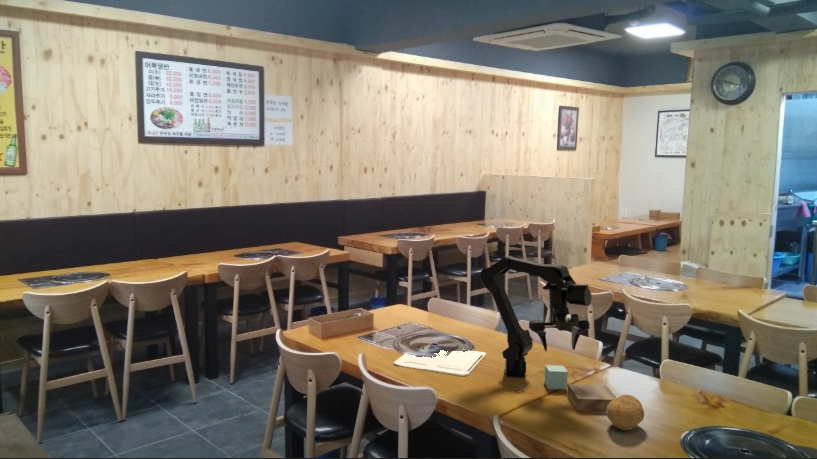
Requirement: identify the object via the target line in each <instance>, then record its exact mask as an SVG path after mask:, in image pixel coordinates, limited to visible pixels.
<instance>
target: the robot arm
mask: <svg viewBox="0 0 817 459" xmlns="http://www.w3.org/2000/svg"><path fill="white" fill-rule="evenodd" d="M510 270H513V271H517V272H520V273H524V274H525V273H526V274H528V275H533V276H537V277H539V278H540V279H542V280H543V281H545V282H547V283H546V284H545V285H544V286H543V287H542V290H545V291H546V290H548V297H549V298H548V299H549V301H548V302H549V304H548V309H549V317H548V319H549V320H548V321H545V322H544V320H542V319H531V320H529V322H528V328H529V329H527V328H526V329H525V330H524V329H523V327H522V326H521V325H520V323H519V320H518V318H517V315H516V312H515V311H514V308H513V306H512V303H511V301H510V299H509V297H508V294H507V291H506V289H505V281H506V280H505V277H504V276H505V275H506V274H507V273H508V272H509V271H510ZM479 279H480V282H481V283H482V285H483V286H484V288H485V289H486V290H487V291H488V292H489V293H490V294H491V296H492V299H493V300H494V303H495V305H496V307H497V310H498V312H499V315H500V316H501V320H502V322H503V324H504V327H505V329H506V332H507V334H506V336H507V337H506V338H507V339H506V342H507V345H508V347H507V348H505V349H504V350H503V351H502V352H501V353H502V357H503V359H505V364H504V365H505V366H504V369H503V371H504V373H505V376H506V377H511V378H512V377H513V378H514V377H515V378H525V377H526V373H527V361H526V356H527V355H528V354H529V352H531V351H532V349H533V346H534V345H533V344H534V343H533V340H534V338H532V336H531V332H534V333H535V334H537V335H538V337H539V339H540V342H541V345H542V347H543V350H544V352H547V351H548V345H547V344H548V343H547V336H546V334H547V332H546V331H545V330H546V329H552V328H553V329H554V328H557V330H558V331H561V332H563V331H571V349H572V351H575V350H576V346H577V343H578V340H579V338H580V335H582V333H585V332H586V331H587V330H590V329H591V328H590V326H591V325H590V320H588V319H586V318H585V317H579V315H578V313H572V314H570V311H569V307H568V305H573V306H584V307H589V306H591V302H592V295H593V294H592V293H591V290H590V288H589V284H585V283H584V284H577V282H576V281H575V280H574V278H573V277H572V276H571V274H570V271H569V269H568V267H567V266H566V265H564V264H556V263H554V264H553V263H552V264H549V263H547V264H546V263H544V264H543V263H539V262H534V261H531V260H527V259H524V258H518V257H515V256H512V255H509V256H508V255H507V256H504V257H502V258H501V259H499V260H498V261H497V262H495V263H493V264H492V265H491V266H489V267H486V268H485V267H484V268H482V269H481V271H480V273H479ZM529 330H531V332H530V331H529Z"/></svg>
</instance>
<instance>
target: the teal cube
mask: <svg viewBox="0 0 817 459" xmlns="http://www.w3.org/2000/svg"><path fill="white" fill-rule="evenodd" d="M544 366H545V368H544V369H545V370H544V384H545V385H546V387H547V389H548V390H568V377H569V376H568V373H569V371H568V370H567V369H566V367H565V366H564V365H554V364H551V365H549V364H545V365H544Z"/></svg>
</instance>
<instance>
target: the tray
mask: <svg viewBox="0 0 817 459" xmlns="http://www.w3.org/2000/svg"><path fill="white" fill-rule="evenodd" d="M467 350H468V351H465V352H463V351H452V352H451V353H450V354H449V355H448V356H447V355H446V354H447V352H448V351H447V352H446V351H444V350H440V352H439V353H438V354H439V355H440V356H439V355H438V354H437V353H434V354H436V355H437V356H436V357H433V356H432V358H431V357H424V356H423V357H416V356H415V355H408V354H406V353H404V354H402V355H401V356H400V357H399V358H397V359H396V360H395V361H393V365H394V364H395V365H396V366H398V367H401V366H403V367H402V368H407V367H409V368H408V369H413V368H415V369H414V370H420V369H421V370H420V371H426V370H427V371H428V372H432V371H433V372H434V373H440V374H446V375H452V376H458V377H466V376H469V375H470V374H471V373H472V372H473V371H474V370H475V369H476V367H477V366H478V365H479V364H480V363H481V362H482V361H481V360H483V359H484V358H485V357H486V356H487V352H485V351H478V350H476V351H475V350H471V351H470V349H467ZM444 354H445V355H446V356H447V357H446V356H445V355H444ZM481 356H482V357H481ZM480 357H481V358H480ZM479 358H480V359H479ZM478 359H479V360H478ZM480 361H481V362H480ZM427 371H426V372H427Z"/></svg>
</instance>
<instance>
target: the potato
mask: <svg viewBox="0 0 817 459" xmlns="http://www.w3.org/2000/svg"><path fill="white" fill-rule="evenodd" d="M605 413H606V415H607V419H608V420H609V421H610V423H611V424H612V425H613V426H614V427H615V428H617V429H619V430H621V431H629V430H632V429H634V428H636V427H637V426H638V425H639V424H640V423H642V422H643V421H644V418H645V416H646V415H645V410H644V408H643V404H642V402H641V401H640V399H637V397H635V396H633V395H631V394H625V393H624V394H622V395H619V396H616V399H613V400H612V401H610V402H609V404H608V405H607V408H606V411H605Z"/></svg>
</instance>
